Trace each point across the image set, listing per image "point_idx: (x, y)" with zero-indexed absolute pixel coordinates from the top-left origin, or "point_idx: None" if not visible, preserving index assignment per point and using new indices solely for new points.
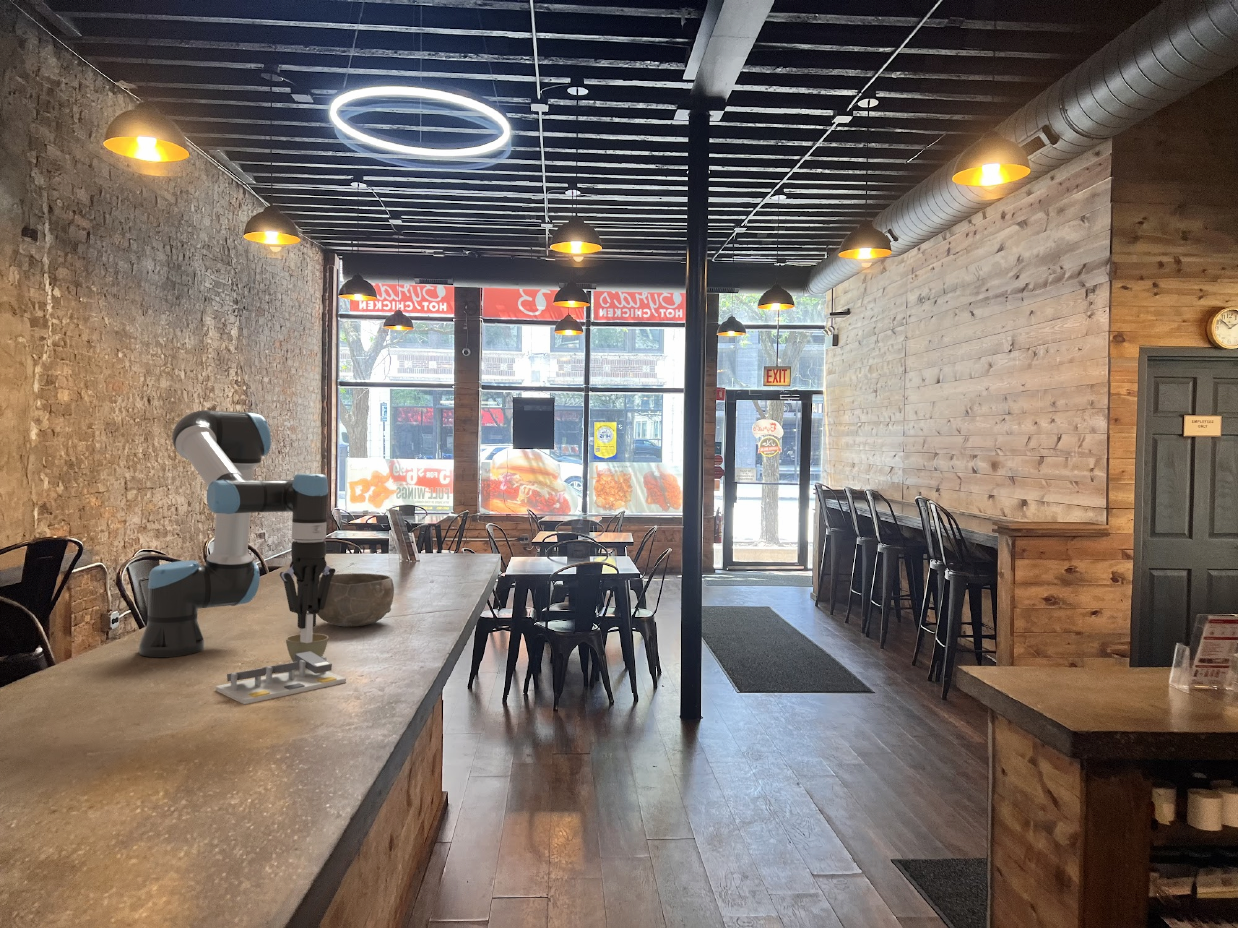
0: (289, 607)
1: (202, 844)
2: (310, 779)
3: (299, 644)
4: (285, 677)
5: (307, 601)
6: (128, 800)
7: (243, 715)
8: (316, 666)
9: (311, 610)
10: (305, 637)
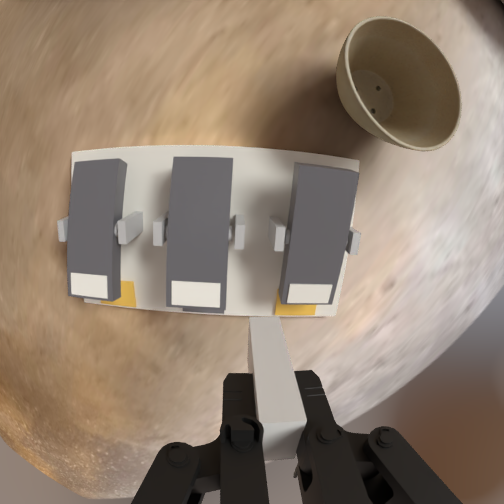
0: (152, 470)
1: (55, 468)
2: (113, 477)
3: (358, 109)
4: (235, 198)
5: (320, 491)
6: (10, 416)
7: (77, 347)
8: (284, 300)
9: (299, 466)
10: (248, 367)
